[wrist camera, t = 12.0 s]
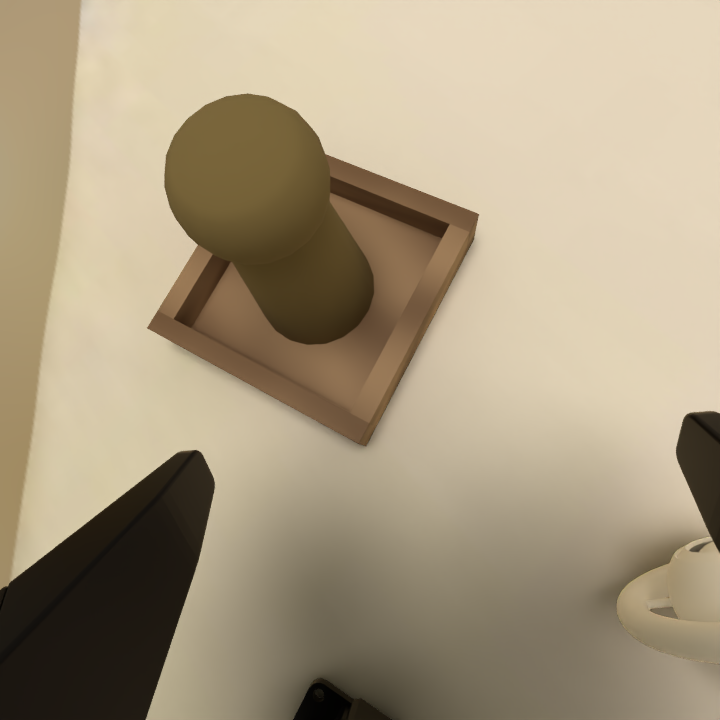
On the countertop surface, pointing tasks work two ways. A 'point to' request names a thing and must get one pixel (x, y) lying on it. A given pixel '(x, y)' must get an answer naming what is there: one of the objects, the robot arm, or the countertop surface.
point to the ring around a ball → (678, 604)
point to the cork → (270, 214)
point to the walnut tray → (360, 346)
